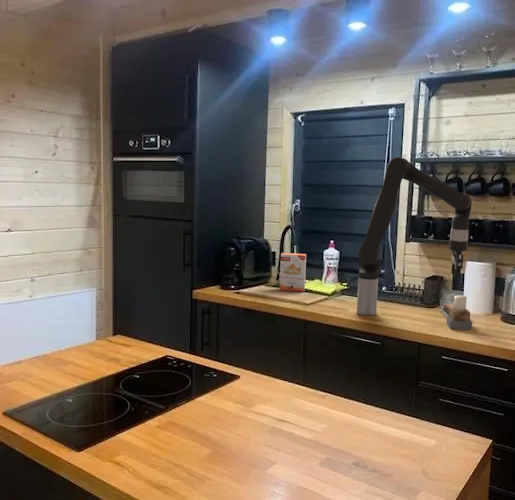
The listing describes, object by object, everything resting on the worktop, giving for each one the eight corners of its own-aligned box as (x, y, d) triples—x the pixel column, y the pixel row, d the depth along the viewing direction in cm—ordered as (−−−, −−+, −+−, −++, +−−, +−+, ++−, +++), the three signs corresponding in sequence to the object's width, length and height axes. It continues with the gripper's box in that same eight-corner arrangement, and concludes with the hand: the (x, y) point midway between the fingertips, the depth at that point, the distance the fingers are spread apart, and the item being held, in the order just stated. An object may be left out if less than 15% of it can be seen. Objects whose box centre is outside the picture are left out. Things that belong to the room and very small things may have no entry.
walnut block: (453, 320, 242) (453, 311, 241) (449, 316, 249) (450, 307, 248) (469, 321, 241) (470, 312, 240) (465, 317, 248) (466, 308, 247)
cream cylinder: (454, 311, 242) (455, 297, 241) (453, 308, 247) (454, 295, 246) (466, 312, 241) (467, 298, 240) (464, 309, 246) (465, 296, 245)
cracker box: (279, 290, 311) (280, 254, 308) (280, 288, 317) (281, 252, 314) (304, 292, 309) (305, 255, 306) (305, 289, 315) (306, 253, 312)
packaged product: (439, 302, 272) (459, 303, 272) (438, 311, 273) (459, 312, 272) (449, 311, 254) (471, 312, 254) (449, 321, 255) (471, 322, 254)
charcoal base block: (449, 329, 242) (450, 320, 241) (446, 324, 250) (447, 315, 250) (471, 331, 240) (472, 322, 240) (467, 325, 249) (468, 316, 248)
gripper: (447, 236, 250) (444, 272, 252) (452, 240, 236) (449, 278, 238) (464, 237, 248) (461, 273, 251) (471, 241, 234) (467, 279, 237)
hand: (455, 275), depth 245 cm, fingers open, 8 cm apart
